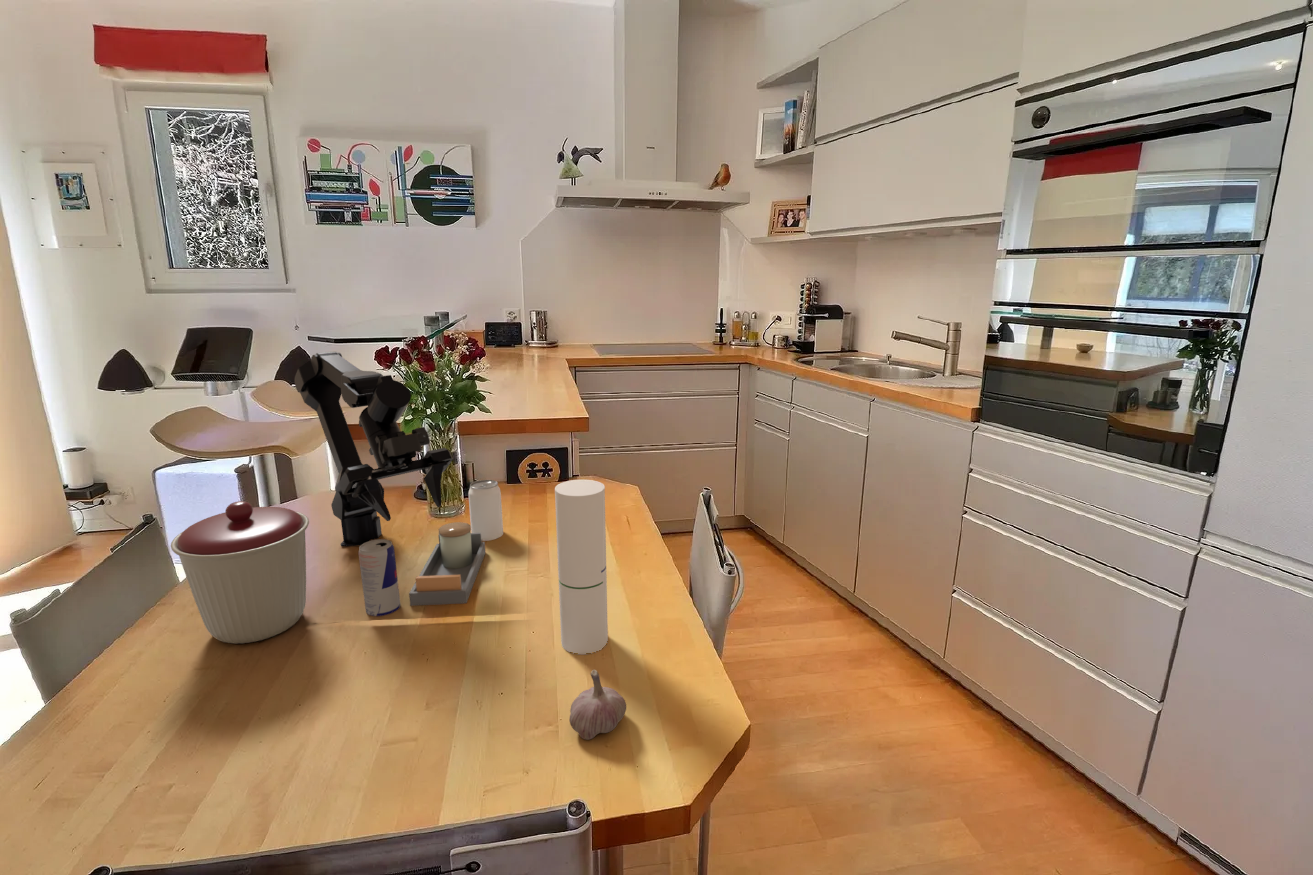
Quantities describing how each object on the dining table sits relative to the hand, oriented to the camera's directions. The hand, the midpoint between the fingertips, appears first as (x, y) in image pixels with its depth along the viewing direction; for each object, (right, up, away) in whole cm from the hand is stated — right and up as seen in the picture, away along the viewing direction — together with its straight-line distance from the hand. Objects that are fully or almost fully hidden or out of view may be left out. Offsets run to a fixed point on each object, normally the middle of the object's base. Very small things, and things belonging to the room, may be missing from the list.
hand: (415, 513), depth 115 cm
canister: (-21, -17, -10) cm, 29 cm away
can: (+7, -8, +24) cm, 26 cm away
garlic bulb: (+35, -23, -32) cm, 53 cm away
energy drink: (-3, -16, -6) cm, 17 cm away
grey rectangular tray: (+5, -13, +5) cm, 15 cm away
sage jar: (+4, -11, +11) cm, 16 cm away
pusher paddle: (+5, -14, -3) cm, 16 cm away
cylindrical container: (+31, -18, -14) cm, 39 cm away
